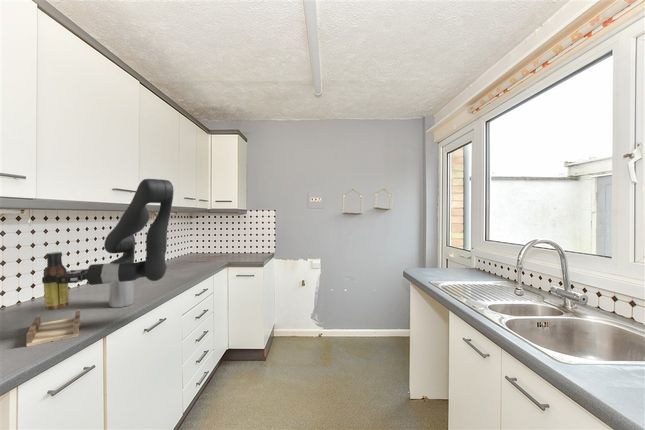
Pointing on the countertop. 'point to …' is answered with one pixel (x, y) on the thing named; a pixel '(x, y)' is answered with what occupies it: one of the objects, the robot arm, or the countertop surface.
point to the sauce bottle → (55, 292)
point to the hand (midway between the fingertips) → (47, 278)
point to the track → (53, 330)
